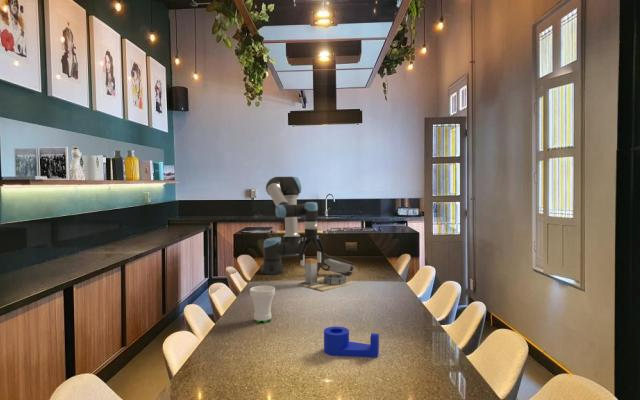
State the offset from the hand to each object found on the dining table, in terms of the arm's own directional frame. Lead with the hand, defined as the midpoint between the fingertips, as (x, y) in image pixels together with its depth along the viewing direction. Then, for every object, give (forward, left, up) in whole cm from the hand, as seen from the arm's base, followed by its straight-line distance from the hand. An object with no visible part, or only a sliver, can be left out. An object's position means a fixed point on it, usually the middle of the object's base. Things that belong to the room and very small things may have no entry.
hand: (310, 264), depth 254 cm
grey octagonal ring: (+8, +12, -12) cm, 19 cm away
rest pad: (0, 0, -12) cm, 12 cm away
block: (0, 0, -11) cm, 11 cm away
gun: (-9, +28, -13) cm, 32 cm away
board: (+5, +7, -12) cm, 15 cm away
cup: (+32, -60, -13) cm, 70 cm away
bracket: (+83, -59, -13) cm, 103 cm away
